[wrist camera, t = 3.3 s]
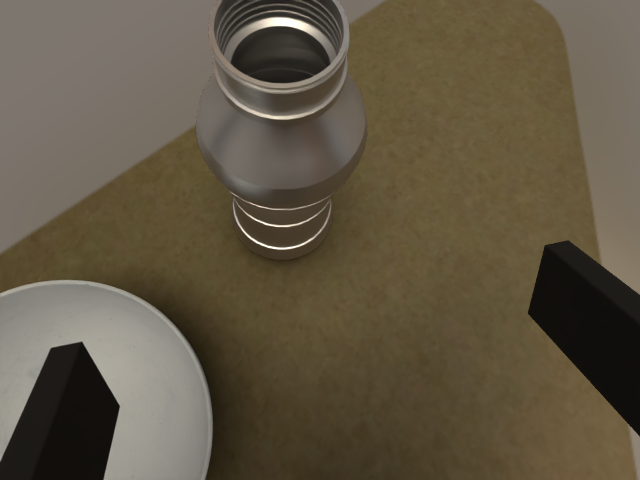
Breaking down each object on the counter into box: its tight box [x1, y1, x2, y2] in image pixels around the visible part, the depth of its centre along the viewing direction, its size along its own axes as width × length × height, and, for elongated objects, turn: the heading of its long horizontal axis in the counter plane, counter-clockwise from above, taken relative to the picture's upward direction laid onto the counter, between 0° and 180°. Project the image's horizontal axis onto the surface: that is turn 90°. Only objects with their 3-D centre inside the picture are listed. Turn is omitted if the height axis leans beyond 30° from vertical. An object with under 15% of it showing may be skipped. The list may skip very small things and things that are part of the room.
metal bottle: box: [196, 0, 368, 260], centre depth 21 cm, size 6×7×20 cm
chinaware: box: [0, 280, 213, 480], centre depth 23 cm, size 15×15×8 cm
